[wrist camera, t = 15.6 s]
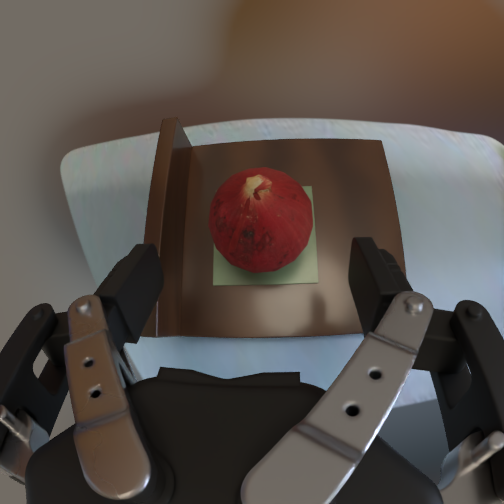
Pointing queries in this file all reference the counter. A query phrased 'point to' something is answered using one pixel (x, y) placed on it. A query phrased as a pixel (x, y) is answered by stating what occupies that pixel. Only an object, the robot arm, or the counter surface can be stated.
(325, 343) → the counter surface
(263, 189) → the red pomegranate
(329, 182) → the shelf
